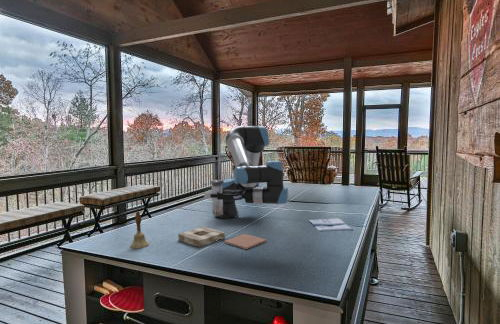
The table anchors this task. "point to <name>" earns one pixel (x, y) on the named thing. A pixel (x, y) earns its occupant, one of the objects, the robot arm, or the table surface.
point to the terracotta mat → (245, 241)
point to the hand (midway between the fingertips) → (206, 194)
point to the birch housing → (201, 236)
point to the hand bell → (139, 235)
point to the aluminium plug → (217, 204)
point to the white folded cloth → (335, 224)
